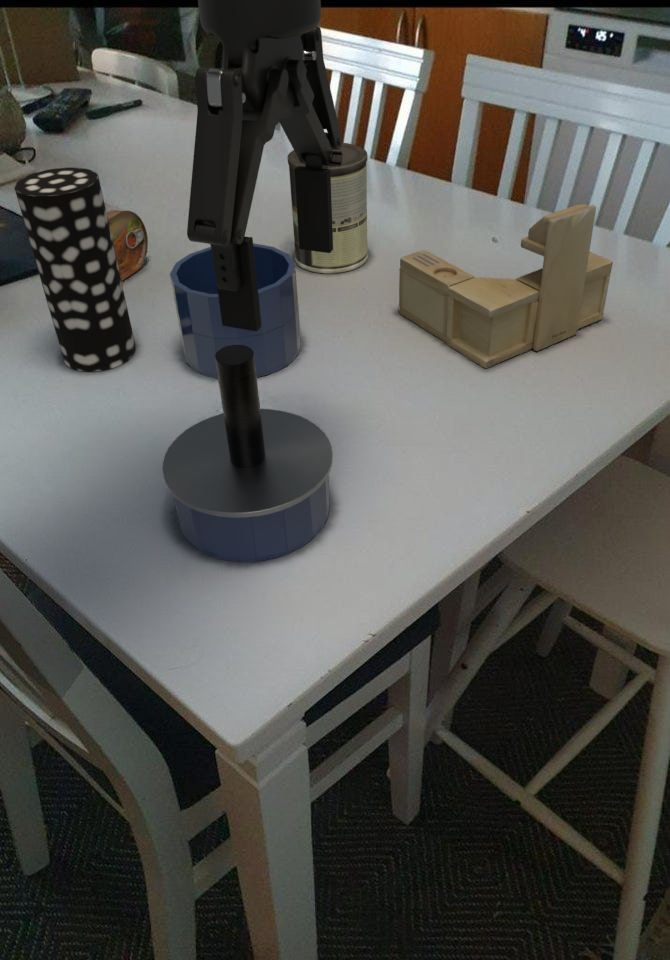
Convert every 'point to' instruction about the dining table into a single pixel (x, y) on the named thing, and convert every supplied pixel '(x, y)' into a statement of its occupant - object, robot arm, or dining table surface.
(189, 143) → the dining table surface
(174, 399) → the dining table surface
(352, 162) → the coffee can
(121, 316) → the white-spotted black cylinder
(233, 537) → the pan
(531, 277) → the toy kitchen set
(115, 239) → the tin
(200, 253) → the pot
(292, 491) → the lid
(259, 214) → the dining table surface
